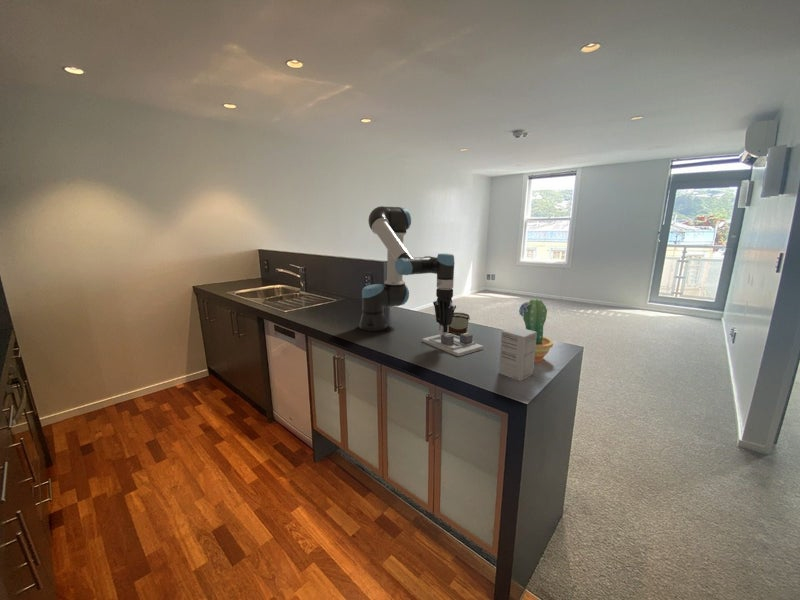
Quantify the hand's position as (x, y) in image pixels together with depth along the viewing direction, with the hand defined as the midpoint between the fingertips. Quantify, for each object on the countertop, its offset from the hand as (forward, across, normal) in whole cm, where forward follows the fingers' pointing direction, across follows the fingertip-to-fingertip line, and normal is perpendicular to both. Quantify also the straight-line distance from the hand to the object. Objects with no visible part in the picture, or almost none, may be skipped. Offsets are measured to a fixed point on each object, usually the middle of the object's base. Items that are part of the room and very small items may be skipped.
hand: (443, 338), depth 155 cm
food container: (+4, -11, +22) cm, 25 cm away
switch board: (+4, +2, +4) cm, 6 cm away
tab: (+2, +3, 0) cm, 3 cm away
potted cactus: (+4, +33, +21) cm, 39 cm away
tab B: (+2, +7, +8) cm, 11 cm away
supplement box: (+4, +39, +1) cm, 39 cm away
